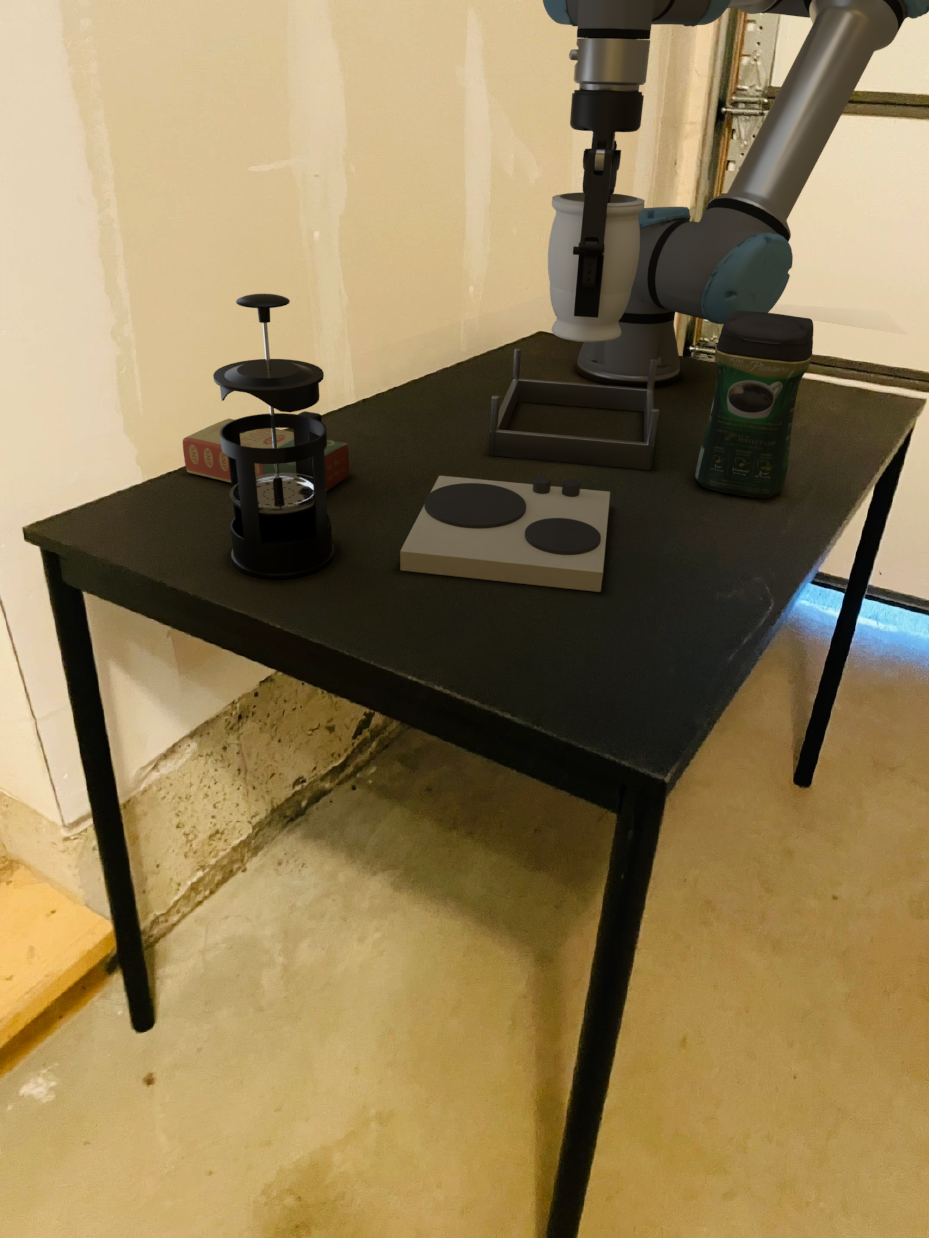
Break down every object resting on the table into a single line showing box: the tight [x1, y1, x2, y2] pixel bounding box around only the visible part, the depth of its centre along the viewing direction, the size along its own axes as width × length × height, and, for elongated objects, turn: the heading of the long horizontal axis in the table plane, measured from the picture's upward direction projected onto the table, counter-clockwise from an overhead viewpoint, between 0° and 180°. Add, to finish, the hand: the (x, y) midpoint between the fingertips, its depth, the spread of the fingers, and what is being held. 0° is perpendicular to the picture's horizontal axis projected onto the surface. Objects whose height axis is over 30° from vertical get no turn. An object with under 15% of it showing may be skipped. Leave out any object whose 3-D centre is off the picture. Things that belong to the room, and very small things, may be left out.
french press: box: [212, 293, 336, 580], centre depth 78 cm, size 12×9×23 cm
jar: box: [547, 191, 646, 343], centre depth 105 cm, size 11×10×15 cm
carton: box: [182, 418, 350, 492], centre depth 99 cm, size 8×16×4 cm, turn 65°
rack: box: [488, 347, 660, 471], centre depth 113 cm, size 22×19×7 cm
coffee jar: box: [694, 310, 814, 499], centre depth 97 cm, size 10×8×19 cm
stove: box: [399, 475, 611, 593], centre depth 88 cm, size 18×18×3 cm
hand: (588, 305), depth 107 cm, fingers closed on jar, 11 cm apart
